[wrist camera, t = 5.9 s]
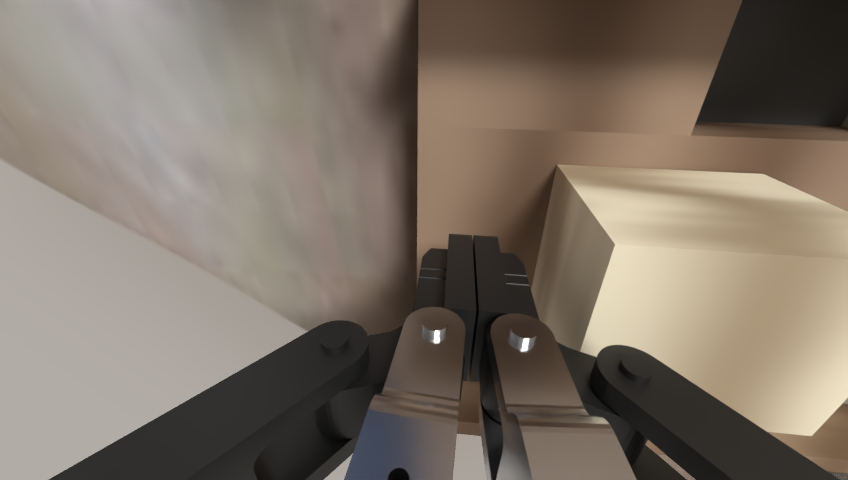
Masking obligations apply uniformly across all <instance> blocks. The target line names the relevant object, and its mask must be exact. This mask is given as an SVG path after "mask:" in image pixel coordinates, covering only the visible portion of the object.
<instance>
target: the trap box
mask: <svg viewBox="0 0 848 480" xmlns="http://www.w3.org/2000/svg"><path fill="white" fill-rule="evenodd" d="M557 164H558V165H580V166H602V167H624V168H646V169H668V170H690V171H711V172H733V173H755V174H765V175H767V176H769V177H771V178H774V179H776V180H778V181H780V182H783V183H785V184H787V185H789V186H791V187H794V188H796V189H798V190H800V191H803V192H805V193H807V194H809V195H811V196H814V197H816V198H818V199H820V200H823V201H825V202H827V203H829V204H832V205H834V206H836V207H838V208H840V209H843V210H845V211H847V212H848V0H418V160H417V284H418V278H419V273H420V268H421V262H422V257H423V256H424V254H425V253H426V252H427V251H428V250H429V249H430V248H438V249H448V239H449V234H463V235H472V241H473V236H474V235H479V236H495V237H498V241H499V247H500V252H501V253H512V254H515V255H516V256H517V257H518V258H519V259H520V260H521V261H522V262H523V263H524V267H525V270H526V274H527V278H528V281H529V286H530V288H532V283H533V278H534V273H535V268H536V264H537V259H538V254H539V249H540V244H541V239H542V235H543V230H544V225H545V220H546V215H547V210H548V206H549V201H550V196H551V191H552V186H553V181H554V176H555V172H556V167H557ZM479 400H480V382H474V381H470V370H469V372H468V380H467V381H463V384H462V392H461V400H460V403H459V413H458V424H457V433H458V434H468V435H477V436H481V431H480V423H479V415H478V406H479ZM768 433H770V434H771V435H773V436H774V437H776V438H777V439H779V440H780V441H782V442H783V443H785V444H786V445H788V446H789V447H791V448H792V449H794V450H795V451H797V452H798V453H800V454H802V455H803V456H805V457H806V458H808V459H809V460H811V461H812V462H814V463H815V464H817V465H818V466H820V467H821V468H823V469H824V470H826V471H829V472H838V473H848V398H847V399H846V400H845V401H844V402H843V403H842V404H841V406H840V407H839V408H838V409H837V410H836V411H835V412H834V413H833V414H832V415H831V416H830V417H829V418H828V419H827V420H826V421H825V423H824V424H823V425H822V426H821V427H820V428H819V429H818V430H817V431H816V432H815V433H814V434H813V435H812V436H804V435H795V434H785V433H775V432H768ZM645 445H646V446H648V447H649V448H650V449H651V450H652V451H653V452H655V453H656V454H663V455H666V454H665V453H664V452H662V451H661V450H660V449H659V448H658V447H656V446H655V445H654V444H653V443H652V442H650V441H649V440H648V441H647V443H646V444H645Z"/></svg>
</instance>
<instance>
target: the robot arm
mask: <svg viewBox="0 0 848 480" xmlns="http://www.w3.org/2000/svg"><path fill="white" fill-rule="evenodd" d="M469 370H470V381H474V382H480V400H479V406H478V415H479V423H480V431H481V438H482V446H483V454H484V462H485V470H486V478H487V480H686V479H685V478H684V477H683V476H682V475H680V474H679V473H678V472H677V471H676V470H675V469H673V468H672V467H671V466H670V465H669V464H667V463H666V462H665V461H664V460H663V459H662V458H660V457H659V456H658V455H657V454H656V453H655V452H653V451H652V450H651V449H650V448H649V447H648V446H646V445H645V444H646V443H647V441H648V440H649V441H650V442H652V443H653V444H654V445H655V446H656V447H658V448H659V449H660V450H661V451H662V452H664V453H665V454H666V455H667V456H668V457H670V458H671V459H672V460H673V461H674V462H676V463H677V464H678V465H679V466H680V467H682V468H683V469H684V470H685V471H686V472H688V473H689V474H690V475H691V476H692V477H694V478H695V479H696V480H839V479H838V478H836V477H835V476H833V475H832V474H830V473H829V472H827V471H826V470H824V469H823V468H821V467H820V466H818V465H817V464H815V463H814V462H812V461H811V460H809V459H808V458H806V457H805V456H803V455H802V454H800V453H798V452H797V451H795V450H794V449H792V448H791V447H789V446H788V445H786V444H785V443H783V442H782V441H780V440H779V439H777V438H776V437H774V436H773V435H771V434H770V433H768V432H767V431H765V430H764V429H762V428H761V427H759V426H758V425H756V424H754V423H753V422H751V421H750V420H748V419H747V418H745V417H744V416H742V415H741V414H739V413H738V412H736V411H735V410H733V409H732V408H730V407H729V406H727V405H726V404H724V403H723V402H721V401H720V400H718V399H717V398H715V397H714V396H712V395H710V394H709V393H707V392H706V391H704V390H703V389H701V388H700V387H698V386H697V385H695V384H694V383H692V382H691V381H689V380H688V379H686V378H685V377H683V376H682V375H680V374H679V373H677V372H676V371H674V370H673V369H671V368H670V367H668V366H666V365H665V364H663V363H662V362H660V361H659V360H657V359H656V358H654V357H653V356H651V355H649V354H648V353H646V352H644V351H642V350H639V349H636V348H634V347H630V346H625V345H610V346H607V347H605V348H603V349H602V350H601V351H600V352H599V353H598V355H597V357H595V356H592V355H589V354H586V353H583V352H580V351H577V350H574V349H571V348H568V347H566V346H564V345H562V344H560V343H559V342H557V341H556V339H555V337H554V334H553V333H552V331H551V330H550V328H549V327H548V326H547V325H546V324H544V323H543V322H541V321H540V320H539V317H538V313H537V310H536V306H535V303H534V299H533V295H532V292H531V288H530V286H529V281H528V278H527V274H526V270H525V267H524V263H523V262H522V261H521V260H520V259H519V258H518V257H517V256H516V255H515V254H512V253H501V252H500V247H499V241H498V237H495V236H479V235H474V236H473V241H472V235H463V234H449V239H448V249H438V248H430V249H429V250H428V251H427V252H426V253H425V254H424V256H423V257H422V262H421V268H420V273H419V278H418V284H417V289H416V295H415V301H414V306H413V311H412V313H411V314H410V315H409V316H408V317H407V318H406V320H405V322H404V325H403V326H401V327H399V328H398V329H396V330H393V331H390V332H387V333H382V334H376V335H370V336H367V333H366V332H365V330H364V329H363V328H362V327H361V326H359V325H358V324H356V323H353V322H350V321H331V322H327V323H324V324H321V325H319V326H317V327H316V328H314V329H312V330H310V331H309V332H307V333H305V334H303V335H302V336H300V337H298V338H296V339H295V340H293V341H291V342H289V343H288V344H286V345H284V346H282V347H281V348H279V349H277V350H275V351H273V352H272V353H270V354H268V355H267V356H265V357H263V358H261V359H259V360H258V361H256V362H254V363H252V364H251V365H249V366H248V367H245V368H244V369H242V370H240V371H239V372H237V373H235V374H233V375H231V376H230V377H228V378H226V379H224V380H223V381H221V382H219V383H218V384H216V385H214V386H212V387H210V388H209V389H207V390H205V391H203V392H202V393H200V394H198V395H196V396H195V397H193V398H191V399H189V400H188V401H186V402H184V403H183V404H181V405H179V406H177V407H175V408H174V409H172V410H170V411H168V412H167V413H165V414H163V415H161V416H160V417H158V418H156V419H154V420H153V421H151V422H149V423H147V424H146V425H144V426H142V427H140V428H138V429H137V430H135V431H133V432H132V433H130V434H128V435H127V436H125V437H123V438H121V439H119V440H117V441H116V442H114V443H112V444H110V445H109V446H107V447H105V448H104V449H102V450H100V451H98V452H96V453H95V454H93V455H91V456H89V457H88V458H86V459H84V460H83V461H81V462H79V463H77V464H76V465H74V466H72V467H70V468H68V469H67V470H65V471H63V472H61V473H60V474H58V475H56V476H54V477H53V478H51V479H50V480H323V479H324V478H326V477H327V476H328V475H329V474H330V473H331V472H332V471H334V470H335V469H336V468H337V467H338V466H339V465H340V464H341V463H342V462H343V461H345V460H346V459H347V458H348V457H349V456H350V455H351V454H352V453H353V455H352V459H351V461H350V464H349V467H348V470H347V473H346V476H345V479H344V480H452V479H453V468H454V457H455V446H456V435H457V424H458V413H459V403H460V400H461V392H462V384H463V381H467V380H468V372H469Z"/></svg>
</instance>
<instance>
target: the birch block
mask: <svg viewBox="0 0 848 480" xmlns="http://www.w3.org/2000/svg"><path fill="white" fill-rule="evenodd" d="M531 292H532V295H533V299H534V303H535V306H536V310H537V313H538V317H539V320H540V321H541V322H543V323H544V324H546V325H547V326H548V327H549V328H550V330H551V331H552V333H553V334H554V337H555V339H556V341H557V342H559V343H560V344H562V345H564V346H566V347H568V348H571V349H574V350H577V351H580V352H583V353H586V354H589V355H592V356H595V357H597V355H598V353H599V352H600V351H601V350H602V349H603V348H605V347H607V346H610V345H625V346H630V347H634V348H636V349H639V350H642V351H644V352H646V353H648V354H649V355H651V356H653V357H654V358H656V359H657V360H659V361H660V362H662V363H663V364H665V365H666V366H668V367H670V368H671V369H673V370H674V371H676V372H677V373H679V374H680V375H682V376H683V377H685V378H686V379H688V380H689V381H691V382H692V383H694V384H695V385H697V386H698V387H700V388H701V389H703V390H704V391H706V392H707V393H709V394H710V395H712V396H714V397H715V398H717V399H718V400H720V401H721V402H723V403H724V404H726V405H727V406H729V407H730V408H732V409H733V410H735V411H736V412H738V413H739V414H741V415H742V416H744V417H745V418H747V419H748V420H750V421H751V422H753V423H754V424H756V425H758V426H759V427H761V428H762V429H764V430H765V431H767V432H775V433H785V434H795V435H804V436H812V435H813V434H814V433H815V432H816V431H817V430H818V429H819V428H820V427H821V426H822V425H823V424H824V423H825V421H826V420H827V419H828V418H829V417H830V416H831V415H832V414H833V413H834V412H835V411H836V410H837V409H838V408H839V407H840V406H841V404H842V403H843V402H844V401H845V400H846V399H847V398H848V212H847V211H845V210H843V209H840V208H838V207H836V206H834V205H832V204H829V203H827V202H825V201H823V200H820V199H818V198H816V197H814V196H811V195H809V194H807V193H805V192H803V191H800V190H798V189H796V188H794V187H791V186H789V185H787V184H785V183H783V182H780V181H778V180H776V179H774V178H771V177H769V176H767V175H765V174H755V173H733V172H711V171H690V170H668V169H646V168H624V167H602V166H580V165H558V164H557V167H556V172H555V176H554V181H553V186H552V191H551V196H550V201H549V206H548V210H547V215H546V220H545V225H544V230H543V235H542V239H541V244H540V249H539V254H538V259H537V264H536V268H535V273H534V278H533V283H532V288H531Z"/></svg>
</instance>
